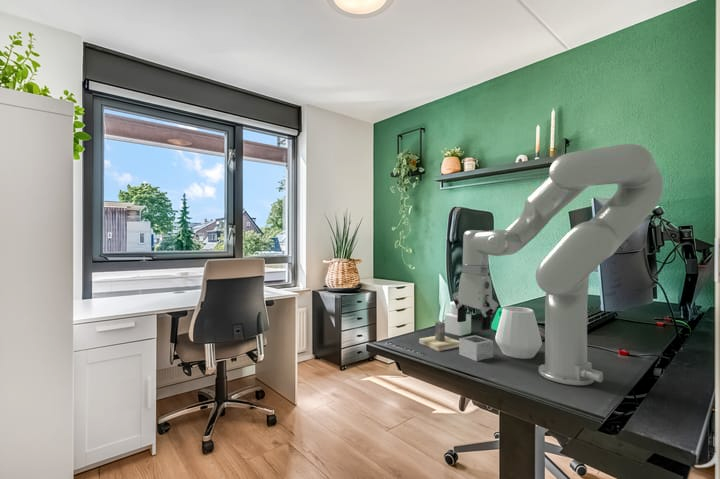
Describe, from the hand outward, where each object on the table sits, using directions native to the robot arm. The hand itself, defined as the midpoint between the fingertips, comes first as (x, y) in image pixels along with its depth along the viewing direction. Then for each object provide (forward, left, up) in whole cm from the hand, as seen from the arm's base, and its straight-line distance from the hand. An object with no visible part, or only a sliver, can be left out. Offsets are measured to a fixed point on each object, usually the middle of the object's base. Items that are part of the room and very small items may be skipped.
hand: (473, 325), depth 109 cm
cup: (-6, -13, -9) cm, 17 cm away
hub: (-1, 0, -9) cm, 9 cm away
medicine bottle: (+21, -14, -9) cm, 27 cm away
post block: (+13, +2, -9) cm, 16 cm away
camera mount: (+10, -30, -10) cm, 33 cm away
